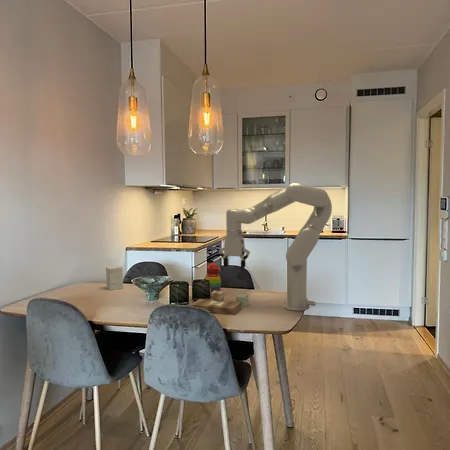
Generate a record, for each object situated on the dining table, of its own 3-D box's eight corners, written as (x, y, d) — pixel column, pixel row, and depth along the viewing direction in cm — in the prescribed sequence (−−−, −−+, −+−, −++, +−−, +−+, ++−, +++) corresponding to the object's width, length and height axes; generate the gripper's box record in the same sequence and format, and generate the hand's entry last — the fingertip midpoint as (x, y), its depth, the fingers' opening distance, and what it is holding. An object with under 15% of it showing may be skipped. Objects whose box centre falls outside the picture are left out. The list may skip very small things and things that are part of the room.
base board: (241, 307, 199) (241, 301, 199) (234, 314, 188) (234, 308, 187) (199, 304, 205) (199, 298, 205) (190, 311, 194) (190, 304, 194)
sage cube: (248, 304, 206) (247, 294, 205) (245, 307, 201) (245, 297, 201) (238, 303, 207) (238, 294, 207) (235, 306, 202) (235, 296, 202)
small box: (119, 286, 248) (118, 265, 247) (123, 288, 243) (122, 267, 242) (106, 288, 243) (105, 267, 242) (110, 290, 238) (109, 268, 237)
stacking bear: (220, 297, 220) (220, 265, 219) (202, 296, 222) (201, 264, 221) (224, 292, 231) (224, 261, 229) (207, 291, 233) (206, 261, 231)
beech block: (223, 302, 210) (223, 291, 209) (220, 305, 205) (220, 293, 204) (214, 301, 211) (214, 290, 211) (211, 304, 206) (211, 292, 206)
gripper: (252, 233, 202) (253, 267, 204) (222, 232, 211) (223, 264, 212) (246, 234, 196) (246, 269, 197) (215, 233, 204) (215, 267, 205)
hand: (234, 267), depth 204 cm, fingers open, 9 cm apart
